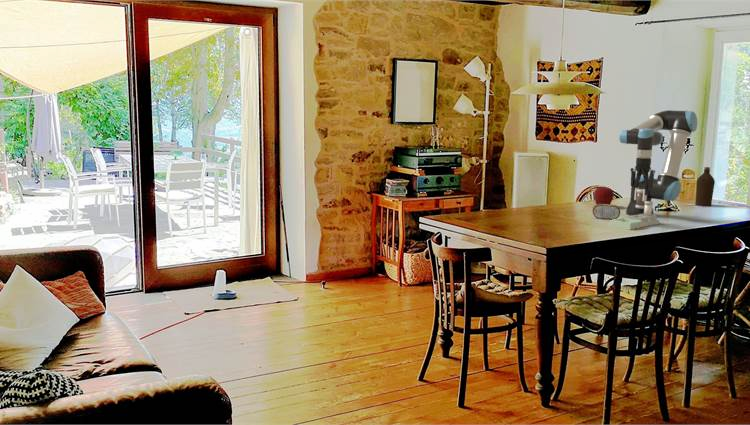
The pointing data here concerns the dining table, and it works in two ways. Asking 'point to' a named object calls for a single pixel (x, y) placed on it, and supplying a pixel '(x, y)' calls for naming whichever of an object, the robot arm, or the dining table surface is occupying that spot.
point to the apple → (603, 195)
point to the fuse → (648, 208)
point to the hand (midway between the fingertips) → (640, 200)
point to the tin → (606, 211)
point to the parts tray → (626, 223)
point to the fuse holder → (645, 219)
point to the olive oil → (705, 188)
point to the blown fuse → (639, 199)
